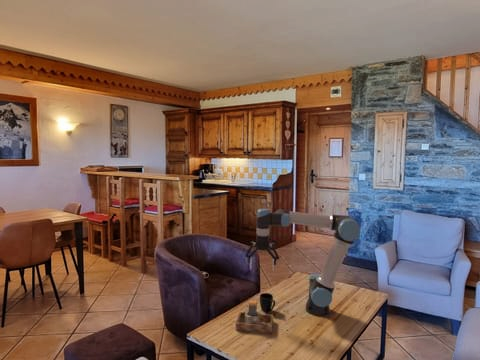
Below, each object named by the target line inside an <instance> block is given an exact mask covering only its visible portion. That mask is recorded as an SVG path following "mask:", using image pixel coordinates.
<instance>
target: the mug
mask: <svg viewBox="0 0 480 360" xmlns="http://www.w3.org/2000/svg"><path fill="white" fill-rule="evenodd" d="M259 304H260V309H261V312H263V313H271V312H272V311H273V309H274V308H275V306H276V300H274V296H273V294H271V293H270V292H264V293H263V292H262V293H261V294H259Z"/></svg>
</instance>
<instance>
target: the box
mask: <svg viewBox="0 0 480 360" xmlns="http://www.w3.org/2000/svg"><path fill="white" fill-rule="evenodd" d="M273 323H274V314H267V313H261V310H257V312H256V316H249V309H246V310H245V311H239V313H238V316H237V318H236V322H235V331H240V332H241V331H242V332H249V333H260V334H268V335H272V333H273V327H274V326H273Z"/></svg>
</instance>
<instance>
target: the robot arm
mask: <svg viewBox="0 0 480 360" xmlns="http://www.w3.org/2000/svg"><path fill="white" fill-rule="evenodd" d="M290 224H296V225H301V226H310V227H315V228H316V227H318V228H325V229H326V228H327V229H329V230H330V231H334V234H333V239H334V241H333V243H332V246H331V248H330V251H329V253H328V255H327V258H326V260H325V262H324V264H323V268H322V271H321V272H320V273H311V274H309V278H308V280H309V281H308V298H307V301H306V303H305V307H304V308H305V311H306V312H307V313H308V314H310V315H314V316H318V317H322V316H323V317H324V316H328V315H330V313H331V308H330V307H331V306H330V304H332V301H333V293H334V291H335V289H336V286H335V281H336V278H337V276H338V275H339V272H340V268H341V267H342V264H343V261H344V260H345V256H346V254H347V253H348V250H349V247H350V246H353V245H354V242H355V240H357V239H358V238H359V237H360V234H361V228H360V225H359V223H358V222H357V221H356V220H355V219H354V218H352V217H351V216H349V215H341V214H330V215H324V214H315V213H310V212H309V213H308V212H299V211H292V210H291V211H290V210H284V209H281V208H279V209H277V210H276V211H275V212H271V211H270V209H268V208H259V209H258V210H257V213H256V239H255V240H256V242H254V241H251V242H250V245H249V248H248V250H247V252H246V253H245V255H244V257H245V258H248V259H247V261H248V264H249V270H252V267H253V266H252V265H253V264H252V263H253V261H252V260H253V258H252V256H253V255H254V254H255V253H257V252H258V250H259V251H266V252H267V253H268V254H269V255H270V256H271V258H272V268H271V269H272V272H274V271H275V266H276V265H277V260H280V255H279V254H278V252H277V250H276V247H275V243H274V242H272V243H270V236H269V235H270V226H273V227H274V226H275V227H289V226H290ZM254 246H255V249H254V250H253V251H252V249H253V247H254ZM270 248H271V249H272V250H270ZM251 251H252V252H251Z"/></svg>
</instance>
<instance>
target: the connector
mask: <svg viewBox="0 0 480 360" xmlns="http://www.w3.org/2000/svg"><path fill="white" fill-rule="evenodd" d="M257 304H258V302H257V300H255V299H249V301H248V310H249V316H256V312H257V311H258V310H257V306H258V305H257Z"/></svg>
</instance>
